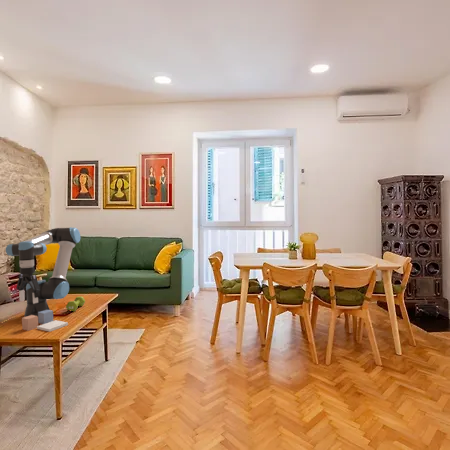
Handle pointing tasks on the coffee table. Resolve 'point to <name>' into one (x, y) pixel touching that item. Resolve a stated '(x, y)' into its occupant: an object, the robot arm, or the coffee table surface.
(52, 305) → the coffee table surface
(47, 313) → the slate block
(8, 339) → the coffee table surface
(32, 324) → the terracotta block
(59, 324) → the baseboard
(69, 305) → the dumbbell
